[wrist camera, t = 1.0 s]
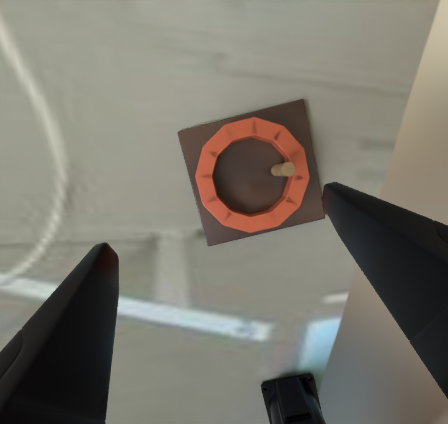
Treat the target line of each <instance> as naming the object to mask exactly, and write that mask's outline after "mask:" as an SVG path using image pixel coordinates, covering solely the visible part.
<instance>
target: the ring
mask: <svg viewBox="0 0 448 424" xmlns="http://www.w3.org/2000/svg"><path fill="white" fill-rule="evenodd" d="M249 138H255V139H258V140H261V141H265V142H268V143H271V144H272V145H273V146H274V147H275V148H276V149H277V150H278V152H279V153H280V154H281V155H282V156H283V157H284V158H285V163H286V162H291V163H293V164H294V166H295V172H294V174H293V175H291V176H288V181H287V184H286V187H285V190H284V193H283V196H282V197H281V198H280V199H279V200H278V201H277V202H276V203H275V204H274V205H273V206H272V207H270V208H269V209H268V210H265V211H261V212H257V213H253V214H246V213H243V212H239V211H236V210H232V209H230V208H229V207H228V206H227V205H226V204H225V203H224V202H223V200H222V199H221V198H220V197H219V196H218V195H217V191H216V187H215V183H214V179H213V174H214V170H215V166H216V163H217V159H218V157H219V156H220V155H221V154H222V153H223V152H224V151H225V150H226V149H227V148H228V147H229V146H230V145H231V144H232V143H234V142H238V141H241V140H245V139H249ZM195 178H196V182H197V185H198V189H199V193H200V197H201V201H202V204H203V206H204V207H205V208H206V209H207V210H208V211H209V212H210V213H211V214H212V215H213V216H214V217H215V218H216V219H217V220H218V221H219V222H220V223H221V224H222V225H224V226H228V227H231V228H235V229H238V230H242V231H245V232H249V233H252V232H256V231H260V230H264V229H269V228H273V227H277V226H279V225H280V224H281V223H282V222H283V221H284V220H286V219H287V218H288V217H289V216H290V215H291V214H292V213H293V212H294V211H295V210H297V209H298V208H299V207H300V205H301V202H302V199H303V196H304V193H305V190H306V187H307V184H308V181H309V178H310V177H309V172H308V167H307V162H306V156H305V151H304V148H303V147H302V146H301V145H300V144H299V142H298V141H297V140H296V139H295V138H294V137H293V136H292V135H291V133H290V132H289V131H288V130H287V129H286V128H285V127H284V126H283V125H279V124H276V123H273V122H270V121H266V120H263V119H260V118H256V117H252V118H248V119H244V120H241V121H237V122H233V123H229V124H225V125H224V126H223V127H222V128H221V129H220V130H219V131H218V132H217V133H216V134H215V135H214V136H213V137H212V138H211V139H210V140H209V141H208V142H207V143H206V144H205V145H204V146H203V148H202V152H201V155H200V159H199V163H198V167H197V171H196V174H195Z"/></svg>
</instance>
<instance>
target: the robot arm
mask: <svg viewBox="0 0 448 424" xmlns="http://www.w3.org/2000/svg"><path fill="white" fill-rule="evenodd" d="M322 203H323V206H324V208H325V210H326V212H327V214H328V216H329V218H330V220H331V222H332V223H333V225H334V227H335V229H336V231H337V233H338V235H339V237H340V238H341V240H342V241H343V243H344V244H345V246H346V247H347V249H348V250H349V252H350V253H351V255H352V256H353V258H354V259H355V261H356V262H357V264H358V265H359V267H360V268H361V270H362V271H363V272H364V274H365V276H366V277H367V279H368V280H369V281H370V283H371V285H372V286H373V288H374V289H375V291H376V292H377V294H378V295H379V297H380V298H381V300H382V301H383V302H384V304H385V306H386V307H387V309H388V310H389V311H390V313H391V314H392V316H393V317H394V319H395V320H396V322H397V323H398V325H399V327H400V328H401V329H402V331H403V332H404V334H405V335H406V337H407V338H408V340H410V343H411V345H412V346H413V348H414V349H415V351H416V352H417V354H418V355H419V357H420V358H421V360H422V361H423V363H424V364H425V365H426V367H427V369H428V370H429V372H430V373H431V375H432V376H433V378H434V379H435V380H436V382H437V383H438V385H439V387H440V388H441V389H442V391H443V393H444V394H445V396H446V397H447V399H448V225H445V224H443V223H440V222H437V221H433V220H432V219H429V218H427V217H425V216H422V215H419V214H417V213H414V212H412V211H409V210H407V209H404V208H401V207H399V206H396V205H394V204H391V203H389V202H386V201H383V200H381V199H378V198H376V197H373V196H371V195H368V194H366V193H363V192H360V191H358V190H355V189H353V188H350V187H348V186H345V185H343V184H340V183H337V182H332V183H328V184H326V185H325V186H324V190H323V197H322ZM118 297H119V259H118V255H117V254H116V252H115V251H114V250H113V249H112V248H111V247H110V245H109V244H108V243H101V244H97V245H95V246H94V247H93V248H92V249H91V250H90V251H89V253H88V254H87V255H86V256H85V257H84V258H83V259H82V260H81V262H80V263H79V264H78V265H77V266H76V267H75V268H74V270H73V271H72V272H71V273H70V274H69V275H68V276H67V277H66V279H65V280H64V281H63V282H62V283H61V284H60V285H59V286H58V288H57V289H56V290H55V291H54V292H53V293H52V294H51V296H50V297H49V298H48V299H47V300H46V301H45V302H44V303H43V305H42V306H41V307H40V308H39V309H38V310H37V311H36V312H35V314H34V315H33V316H32V317H31V318H30V319H29V320H28V322H27V323H26V324H25V325H24V326H23V327H22V330H20V331H19V332H18V333H17V334H16V335H15V336H14V337H13V338H12V340H11V341H10V342H9V343H8V344H7V345H6V346H5V347H4V348H3V350H2V351H1V352H0V424H105V420H106V411H107V401H108V392H109V382H110V373H111V363H112V354H113V345H114V335H115V326H116V316H117V307H118ZM309 378H310V379H309ZM265 387H266V388H265ZM261 389H262V393H263V397H264V401H265V405H266V409H267V413H268V417H269V421H270V424H326V423H325V421H324V419H323V416H322V412H321V407H320V403H319V398H318V393H317V389H316V384H315V380H314V377H313V375H312V374H311V373H307V374H303V375H298V376H293V377H288V378H284V379H279V380H274V381H269V382H265V383H262V384H261Z"/></svg>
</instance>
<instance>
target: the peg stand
mask: <svg viewBox="0 0 448 424" xmlns="http://www.w3.org/2000/svg"><path fill="white" fill-rule="evenodd" d="M252 117H256V118H260V119H263V120H266V121H270V122H273V123H276V124H279V125H283V126H284V127H285V128H286V129H287V130H288V131H289V132H290V133H291V135H292V136H293V137H294V138H295V139H296V140H297V141H298V142H299V144H300V145H301V146H302V147H303V148H304V151H305V156H306V162H307V167H308V172H309V177H310V178H309V181H308V184H307V187H306V190H305V193H304V196H303V199H302V202H301V205H300V207H299V208H298V209H297V210H295V211H294V212H293V213H292V214H291V215H290V216H289V217H288V218H287V219H286V220H284V221H283V222H282V223H281V224H280V225H279V226H277V227H273V228H269V229H264V230H260V231H256V232H252V233H249V232H245V231H242V230H238V229H235V228H231V227H228V226H224V225H222V224H221V223H220V222H219V221H218V220H217V219H216V218H215V217H214V216H213V215H212V214H211V213H210V212H209V211H208V210H207V209H206V208H205V207H204V206H203V204H202V201H201V197H200V193H199V189H198V185H197V182H196V178H195V174H196V171H197V167H198V163H199V159H200V155H201V152H202V148H203V146H204V145H205V144H206V143H207V142H208V141H209V140H210V139H211V138H212V137H213V136H214V135H215V134H216V133H217V132H218V131H219V130H220V129H221V128H222V127H223V126H224V125H225V124H229V123H233V122H237V121H241V120H244V119H248V118H252ZM177 133H178V137H179V140H180V144H181V148H182V152H183V155H184V159H185V163H186V166H187V170H188V174H189V178H190V181H191V185H192V189H193V192H194V196H195V200H196V203H197V207H198V211H199V215H200V218H201V222H202V226H203V229H204V233H205V237H206V240H207V244H208V246H212V245H216V244H220V243H224V242H228V241H232V240H237V239H241V238H245V237H249V236H253V235H257V234H262V233H266V232H270V231H274V230H278V229H282V228H287V227H291V226H295V225H299V224H303V223H307V222H312V221H316V220H320V219H324V218H325V214H324V209H323V203H322V198H321V193H320V187H319V182H318V176H317V171H316V165H315V160H314V155H313V149H312V144H311V138H310V133H309V128H308V122H307V117H306V111H305V106H304V100H303V99H301V100H297V101H293V102H290V103H286V104H282V105H278V106H275V107H271V108H267V109H263V110H259V111H256V112H252V113H248V114H244V115H240V116H237V117H233V118H229V119H225V120H221V121H218V122H214V123H210V124H206V125H202V126H199V127H195V128H191V129H187V130H183V131H180V132H177ZM294 172H295V166H294V164H293V163H291V162H286V163H285V158H284V157H283V156H282V155H281V154H280V153H279V152H278V150H277V149H276V148H275V147H274V146H273V145H272V144H271V143H268V142H265V141H261V140H258V139H255V138H249V139H245V140H241V141H238V142H234V143H232V144H231V145H230V146H229V147H228V148H227V149H226V150H225V151H224V152H223V153H222V154H221V155H220V156H219V157H218V159H217V163H216V166H215V170H214V174H213V179H214V183H215V187H216V191H217V195H218V196H219V197H220V198H221V199H222V200H223V202H224V203H225V204H226V205H227V206H228V207H229V208H230V209H232V210H236V211H239V212H243V213H246V214H253V213H257V212H261V211H265V210H268V209H269V208H270V207H272V206H273V205H274V204H275V203H276V202H277V201H278V200H279V199H280V198H281V197H282V196H283V193H284V190H285V187H286V184H287V181H288V176H291V175H293V174H294Z"/></svg>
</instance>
